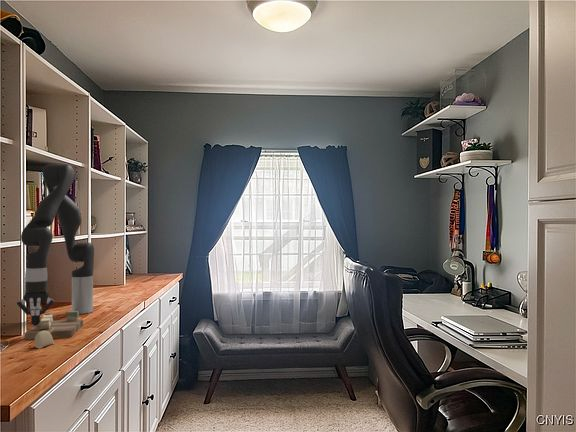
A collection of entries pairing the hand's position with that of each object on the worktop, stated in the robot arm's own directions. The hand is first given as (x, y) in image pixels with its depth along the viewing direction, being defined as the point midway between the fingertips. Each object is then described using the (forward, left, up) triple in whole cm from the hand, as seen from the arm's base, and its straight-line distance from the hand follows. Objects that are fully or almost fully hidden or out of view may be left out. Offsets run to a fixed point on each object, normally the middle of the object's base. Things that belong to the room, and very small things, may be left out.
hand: (35, 325), depth 173 cm
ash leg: (-5, +2, -1) cm, 6 cm away
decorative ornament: (+15, +8, -4) cm, 17 cm away
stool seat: (-4, +6, -4) cm, 8 cm away
